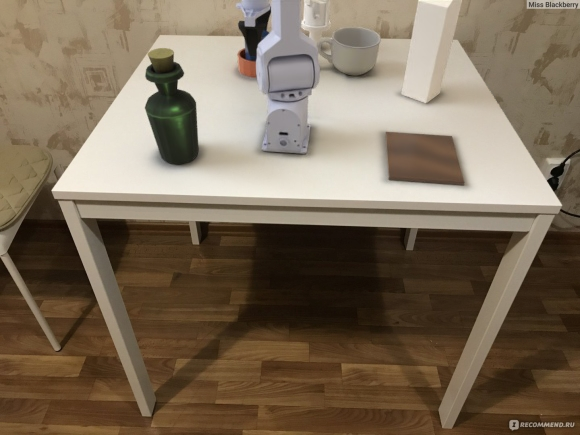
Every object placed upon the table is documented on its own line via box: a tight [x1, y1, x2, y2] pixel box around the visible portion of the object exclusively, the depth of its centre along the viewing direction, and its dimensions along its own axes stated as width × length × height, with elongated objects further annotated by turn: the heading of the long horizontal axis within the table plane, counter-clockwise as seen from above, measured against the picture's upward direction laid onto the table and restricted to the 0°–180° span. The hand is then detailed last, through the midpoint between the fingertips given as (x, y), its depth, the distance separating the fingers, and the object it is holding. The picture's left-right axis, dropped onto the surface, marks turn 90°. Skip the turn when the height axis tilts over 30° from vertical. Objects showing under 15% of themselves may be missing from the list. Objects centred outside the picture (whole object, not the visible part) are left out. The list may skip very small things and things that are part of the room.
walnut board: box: [384, 131, 465, 186], centre depth 79 cm, size 14×12×1 cm
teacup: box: [317, 26, 382, 76], centre depth 103 cm, size 14×11×8 cm
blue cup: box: [244, 30, 270, 61], centre depth 102 cm, size 5×5×8 cm
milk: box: [400, 0, 463, 104], centre depth 90 cm, size 6×6×22 cm
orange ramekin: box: [236, 47, 257, 79], centre depth 104 cm, size 9×9×4 cm
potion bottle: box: [144, 47, 200, 165], centre depth 74 cm, size 8×8×18 cm
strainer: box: [301, 0, 332, 46], centre depth 109 cm, size 7×7×15 cm
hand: (257, 48), depth 102 cm, fingers open, 7 cm apart
